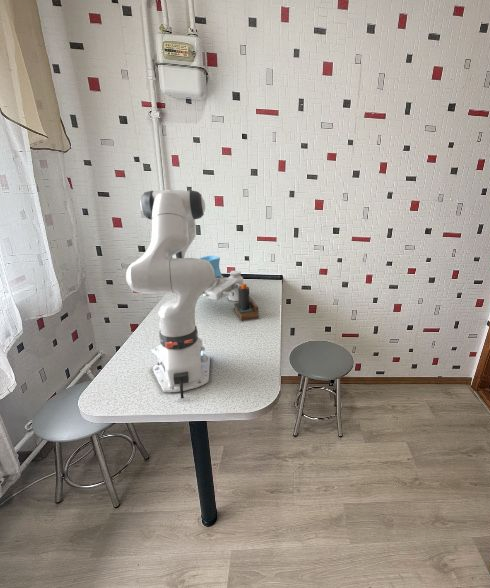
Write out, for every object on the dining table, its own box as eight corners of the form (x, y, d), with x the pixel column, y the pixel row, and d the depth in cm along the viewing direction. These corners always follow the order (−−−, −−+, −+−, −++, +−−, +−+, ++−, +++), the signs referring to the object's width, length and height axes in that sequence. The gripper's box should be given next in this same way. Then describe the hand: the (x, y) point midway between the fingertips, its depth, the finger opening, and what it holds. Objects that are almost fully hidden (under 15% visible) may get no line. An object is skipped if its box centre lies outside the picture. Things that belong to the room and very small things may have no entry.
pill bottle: (246, 299, 175) (245, 273, 169) (231, 302, 170) (230, 275, 165) (240, 294, 181) (239, 268, 175) (226, 297, 176) (224, 270, 171)
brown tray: (258, 318, 155) (258, 306, 153) (241, 321, 152) (241, 309, 149) (250, 307, 167) (249, 296, 164) (234, 309, 163) (233, 298, 161)
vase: (202, 293, 180) (199, 257, 173) (213, 289, 186) (211, 255, 179) (211, 296, 176) (209, 260, 169) (223, 292, 182) (221, 257, 175)
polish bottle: (250, 309, 157) (250, 285, 152) (240, 310, 155) (239, 286, 150) (248, 305, 161) (247, 282, 156) (237, 306, 159) (236, 283, 154)
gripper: (198, 287, 148) (226, 292, 145) (222, 274, 166) (247, 278, 163) (199, 300, 150) (227, 305, 147) (222, 286, 169) (247, 290, 166)
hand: (237, 291), depth 155 cm, fingers open, 8 cm apart
